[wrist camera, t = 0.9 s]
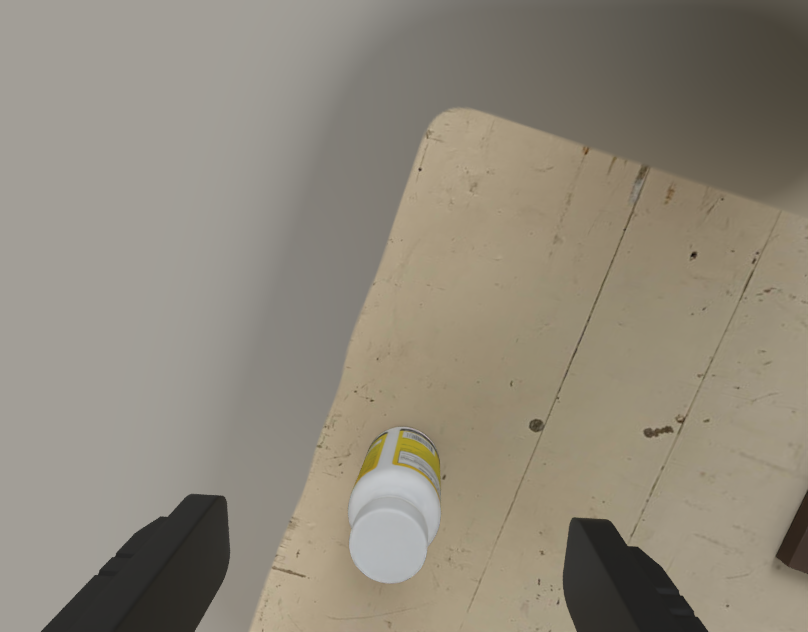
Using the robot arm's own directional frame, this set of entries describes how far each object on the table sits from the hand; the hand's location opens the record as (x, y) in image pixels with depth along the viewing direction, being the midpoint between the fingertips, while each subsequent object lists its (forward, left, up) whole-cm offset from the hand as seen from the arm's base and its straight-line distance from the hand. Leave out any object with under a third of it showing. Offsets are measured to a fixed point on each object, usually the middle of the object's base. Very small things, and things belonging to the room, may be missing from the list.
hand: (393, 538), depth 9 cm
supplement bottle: (+7, +1, -20) cm, 21 cm away
